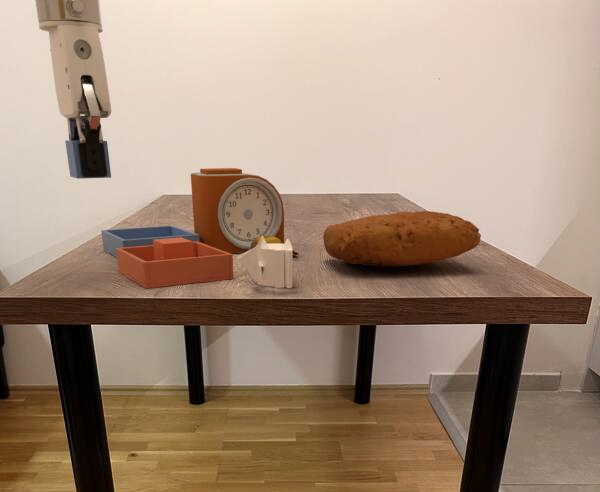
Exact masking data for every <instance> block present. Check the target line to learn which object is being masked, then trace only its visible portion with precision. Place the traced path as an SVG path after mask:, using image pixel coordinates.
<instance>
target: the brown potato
mask: <svg viewBox="0 0 600 492" xmlns="http://www.w3.org/2000/svg"><path fill="white" fill-rule="evenodd" d="M479 231H480V229H479V228H478V226H476V225H475V224H474V223H473V222H471V221H469V220H466V219H463V218H462V217H460V216H457V215H453V214H450V213H446V212H445V213H444V212H438V211H430V210H429V211H427V210H422V211H414V212H412V211H400V212H395V213H390V214H389V213H388V214H376V215H368V216H365V217H360V218H356V219H350V220H347V221H345V222H341V223H335V224H331V225H328V226H327V227H326V228H325V230H324V232H323V236H322V238H323V239H322V241H323V246H324V249H325V251H326V253H327V255H329V256H330V257H331V258H334V259H336V260H338V261H342V262H346V263H349V264H351V265H362V266H367V267H381V268H382V267H383V268H401V267H402V268H403V267H409V266H418V265H423V264H429V263H433V262H438V261H442V260H447V259H452V258H456V257H459V256H460V255H462V254H464V253H467V252H469V251H472V250H474V249H475V248H477V246H479V244H480V242H481V239H482V237H481V236H482V234H481V233H480V232H479Z"/></svg>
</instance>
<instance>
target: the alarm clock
mask: <svg viewBox="0 0 600 492" xmlns="http://www.w3.org/2000/svg"><path fill="white" fill-rule="evenodd" d="M190 185H191V199H192V200H191V202H192V216H193V231H194V232H193V233H195V234H198V235H199V241H200V243H203V244H206V245H208V246H211V247H214V248H217V249H219V250H222V251H225V252H228V253H230V254H243V253H245V252H247V251H249V250H250V247H251V243H252V241H253V240H254V239H255V238H256V237H258V236H262V235H263V236H264V235H266V236H269V237H276V238H278V239H279V240H280V241H281V243H282V244H284V243H285V209H284V201H283V200H282V199H283V198H282V197H281V194H280V192H279V191H278V189H277V188H276V187H275V185H274V184H272V182H270V181H269V180H268V179H266V178H264V177H262V176H260V175H256V174H253V173H252V174H250V173H245V172H243V170H242V169H241V168H237V167H236V168H235V167H222V168H220V167H219V168H217V167H216V168H200V169H199V172H191V173H190Z"/></svg>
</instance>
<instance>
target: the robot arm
mask: <svg viewBox="0 0 600 492" xmlns="http://www.w3.org/2000/svg"><path fill="white" fill-rule="evenodd" d="M34 1H35V7H36V8H35V9H36V14H37V21H38V27H39V30H41V31H44V32H47V33H48V38H49V46H50V47H49V48H50V49H49V50H50V56H51V63H52V65H51V66H52V73H53V80H54V87H55V94H56V100H57V105H58V109H59V113H60V115H61V116H63V118H65V119H66V121H67V132H68V141H80V143H81V144H78V149H79V157H80V164H81V172H82V175H83V176H84V177H105V176H107V168H106V160H105V151H104V144H103V141H104V136H103V131H102V124H101V119H108V118H109V117H110V116H111V115H112V114H111V113H112V105H111V97H110V90H109V84H108V77H107V70H106V64H105V59H104V53H103V47H102V41H101V38H100V34H101V33H103V31H104V30H103V23H102V13H101V3H100V0H34Z"/></svg>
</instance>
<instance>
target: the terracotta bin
mask: <svg viewBox="0 0 600 492" xmlns="http://www.w3.org/2000/svg"><path fill="white" fill-rule="evenodd" d="M116 253H117V258H116V260H117V269H118V272H119V273H120V274H122V275H123V276H125V277H127V278H128V279H130V280H132V281H133V282H135V283H136V284H137V285H139V286H141V287H143V288H144V289H153V288H154V289H155V288H162V287H163V288H164V287H172V286H180V285H189V284H197V283H199V284H200V283H207V282H208V283H209V282H215V281H226V280H233V279H234V257H233V254H234V253H233V254H230V253H228V252H225V251H222V250H219V249H217V248H214V247H211V246H208V245H206V244H203V243H200V242H193V253H194V257H190V258H179V259H168V260H157V261H155V257H154V246H153V245H149V246H137V247H125V248H116Z"/></svg>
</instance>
